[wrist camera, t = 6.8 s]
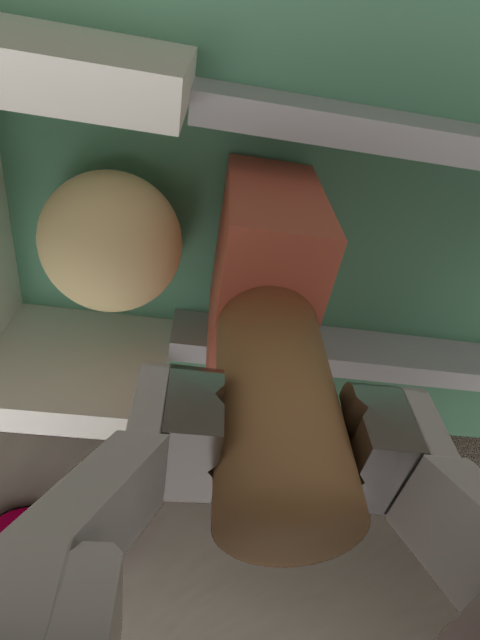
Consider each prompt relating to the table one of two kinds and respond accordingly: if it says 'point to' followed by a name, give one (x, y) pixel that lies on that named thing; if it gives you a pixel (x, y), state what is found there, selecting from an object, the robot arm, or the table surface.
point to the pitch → (210, 174)
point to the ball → (109, 240)
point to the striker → (279, 373)
